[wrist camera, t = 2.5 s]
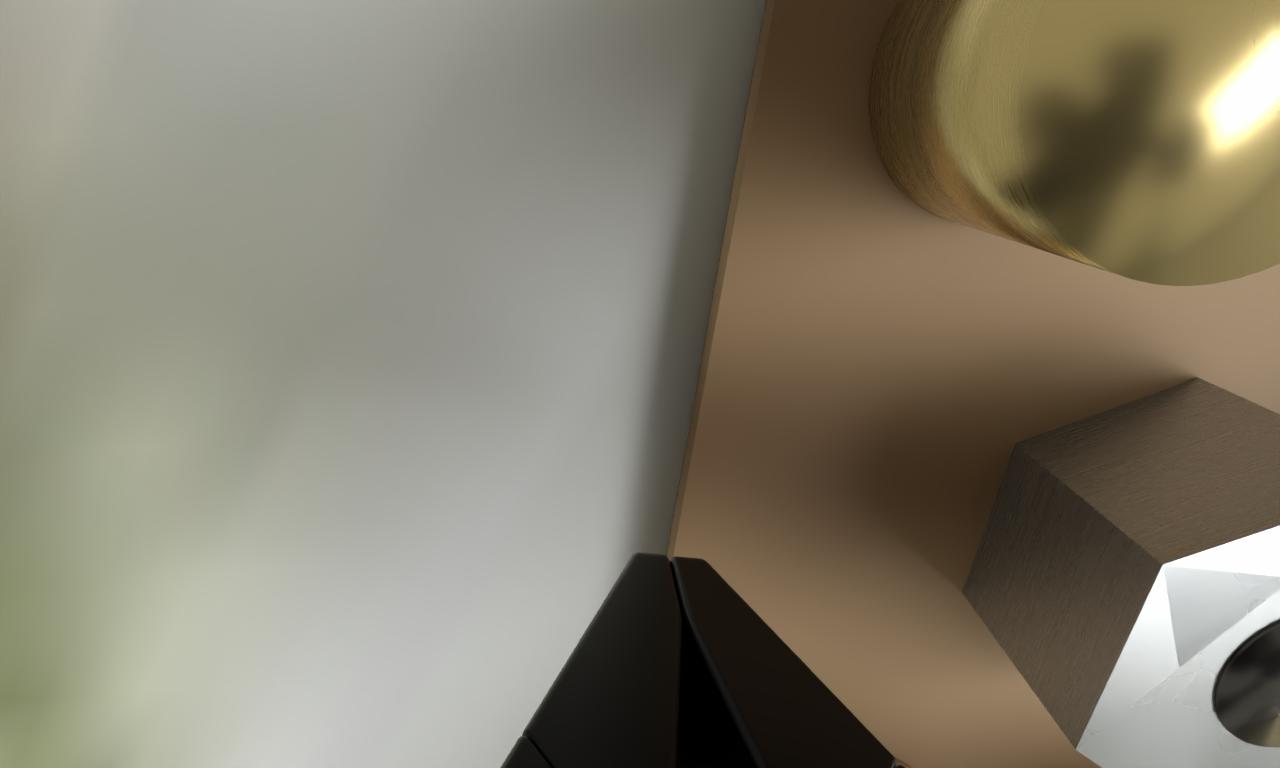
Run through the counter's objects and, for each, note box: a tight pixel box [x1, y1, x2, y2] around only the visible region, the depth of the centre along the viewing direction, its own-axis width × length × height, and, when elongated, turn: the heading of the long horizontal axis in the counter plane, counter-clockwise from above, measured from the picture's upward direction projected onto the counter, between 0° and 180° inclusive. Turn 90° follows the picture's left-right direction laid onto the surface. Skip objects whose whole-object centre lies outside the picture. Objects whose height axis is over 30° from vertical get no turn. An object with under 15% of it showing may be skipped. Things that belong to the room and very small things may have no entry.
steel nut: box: [962, 378, 1280, 768], centre depth 10 cm, size 5×5×3 cm
